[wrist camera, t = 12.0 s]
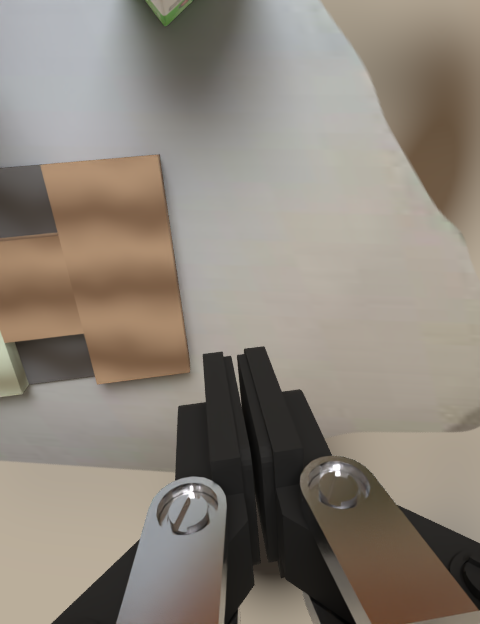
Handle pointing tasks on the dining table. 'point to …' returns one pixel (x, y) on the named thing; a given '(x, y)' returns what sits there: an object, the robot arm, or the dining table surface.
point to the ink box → (167, 9)
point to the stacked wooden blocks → (87, 274)
